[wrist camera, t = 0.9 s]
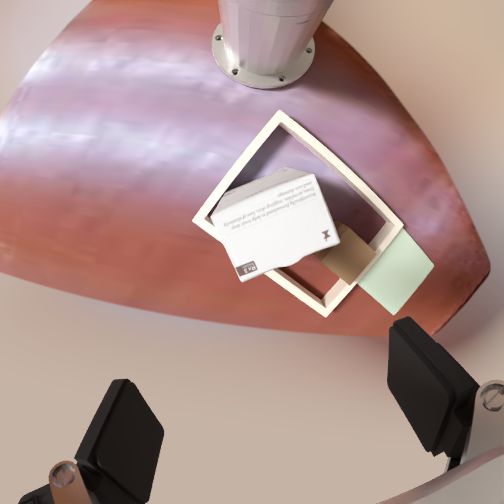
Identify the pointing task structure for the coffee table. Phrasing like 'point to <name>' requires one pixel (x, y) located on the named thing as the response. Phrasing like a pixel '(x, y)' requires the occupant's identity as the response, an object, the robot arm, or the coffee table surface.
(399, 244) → the tile
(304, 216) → the skincare box
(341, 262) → the walnut block
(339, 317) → the coffee table surface
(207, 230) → the cream rectangular frame
